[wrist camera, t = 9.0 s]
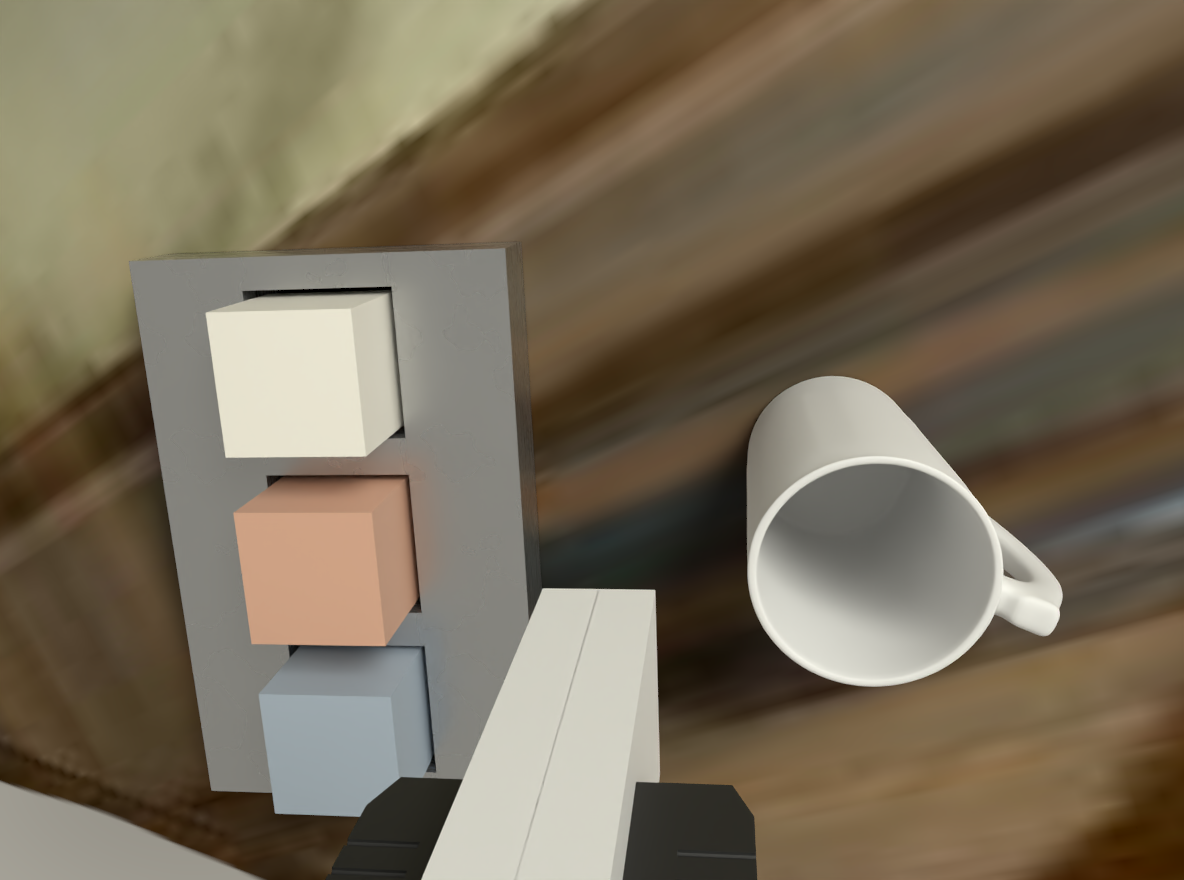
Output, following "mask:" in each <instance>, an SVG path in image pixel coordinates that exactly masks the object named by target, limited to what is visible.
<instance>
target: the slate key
mask: <svg viewBox="0 0 1184 880" xmlns="http://www.w3.org/2000/svg"><path fill="white" fill-rule="evenodd" d="M259 701H260V708H261V715H262V723H263V730H264V737H265V744H266V751H267V759H268V766H269V773H270V780H271V787H272V794H273V802H274V809H275V813H276V814H302V815H329V816H356V817H360V816H361V814H362V812H363V810H364V808H365V807H366V805H367V804H368V803H370V802H371V801H372V800H373V799H374V798H376V797H377V796H378V795H379V794H381V793H382V792H383V791H384V790H386V789H387V788H388V787H389V786H390V785H392V784H393V783H394V782H395V781H397V780H398V779H399V778H400V777H415V778H423V776H424V774H425V772H426V770H427V768H428V766H429V764H430V762H431V760H432V758H433V756H434V754H435V752H434V741H433V731H432V720H431V709H430V698H429V687H428V676H427V665H426V655H425V646H390V645H386V646H339V645H301V646H300V647H299V648H298V649H297V650H296V651H295V653H294V654H293V655H292V656H291V657H290V658H289V660H288V661H287V662H286V663H285V664H284V665H283V666H282V668H281V669H280V670H279V671H278V672H277V673H276V675H275V676H274V677H273V678H272V679H271V680H270V682H269V683H268V684H267V685H266V686H265V687H264V688H263V690H262V691H261V692H260V693H259Z"/></svg>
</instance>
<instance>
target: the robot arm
mask: <svg viewBox="0 0 1184 880" xmlns="http://www.w3.org/2000/svg"><path fill="white" fill-rule="evenodd" d="M659 777H660V756H659V716H658V677H657V637H656V597H655V590H627V589H542V592H541V594H540V597H539V599H538V601H537V604H536V606H535V609H534V611H533V613H532V616H531V618H530V621H529V623H528V625H527V628H526V630H525V632H524V635H523V637H522V640H521V642H520V644H519V647H518V649H517V652H516V654H515V656H514V659H513V661H512V664H511V666H510V668H509V671H508V673H507V676H506V678H505V680H504V683H503V685H502V688H501V690H500V692H499V695H498V697H497V699H496V702H495V704H494V707H493V709H492V711H491V714H490V716H489V719H488V721H487V723H486V726H485V728H484V731H483V733H482V735H481V738H480V740H479V743H478V745H477V747H476V750H475V752H474V755H473V757H472V759H471V762H470V764H469V766H468V769H467V771H466V774H465V776H464V778H463V779H443V778H415V777H400V778H399V779H398V780H397V781H395V782H394V783H393V784H392V785H390V786H389V787H388V788H387V789H386V790H384V791H383V792H382V793H381V794H379V795H378V796H377V797H376V798H374V799H373V800H372V801H371V802H370V803H368V804H367V805H366V807H365V808H364V810H363V812H362V814H361V816H360V818H359V819H358V821H357V823H356V825H355V827H354V828H353V830H352V832H351V834H350V836H349V837H348V843H347V846H344V847H343V848H342V850H341V852H340V854H339V856H338V857H337V859H336V861H335V863H334V865H333V867H332V874H331V875H330V874H328V876H327V877H326V879H325V880H757V866H756V846H755V825H754V816H753V814H752V813H751V812H750V810H749V809H748V807H747V806H746V804H745V803H744V802H743V800H742V799H741V797H740V796H739V794H738V793H737V791H736V790H735V789H734V787H733V786H732V785H709V784H681V783H659Z"/></svg>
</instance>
